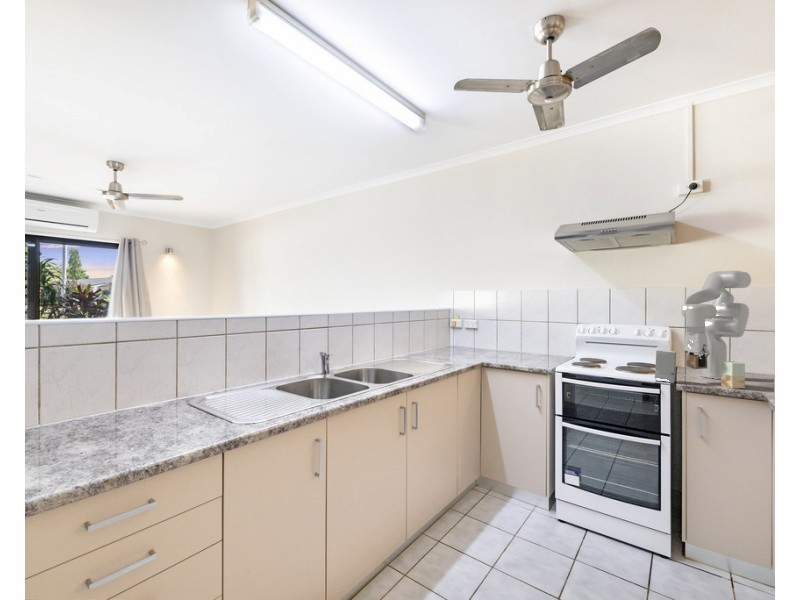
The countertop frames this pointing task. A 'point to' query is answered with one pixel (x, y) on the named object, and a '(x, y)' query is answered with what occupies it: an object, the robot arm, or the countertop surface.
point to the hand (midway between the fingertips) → (696, 365)
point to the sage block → (732, 368)
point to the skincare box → (665, 365)
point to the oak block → (733, 381)
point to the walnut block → (694, 362)
